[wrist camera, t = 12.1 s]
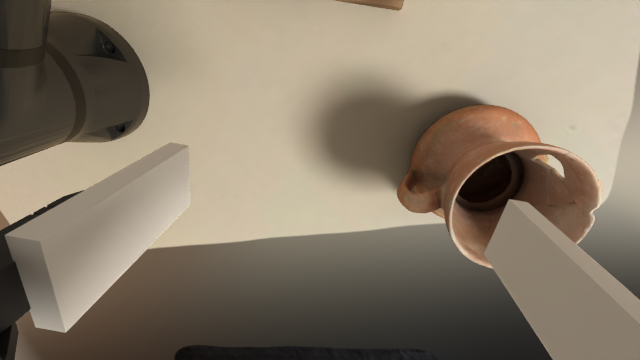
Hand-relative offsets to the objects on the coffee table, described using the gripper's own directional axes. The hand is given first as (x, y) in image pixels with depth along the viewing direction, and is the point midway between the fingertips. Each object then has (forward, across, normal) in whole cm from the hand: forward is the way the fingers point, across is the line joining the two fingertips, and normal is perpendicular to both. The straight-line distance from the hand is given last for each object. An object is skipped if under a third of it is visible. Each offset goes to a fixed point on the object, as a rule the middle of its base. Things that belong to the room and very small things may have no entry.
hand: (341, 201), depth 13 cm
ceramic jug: (+27, +16, -5) cm, 32 cm away
